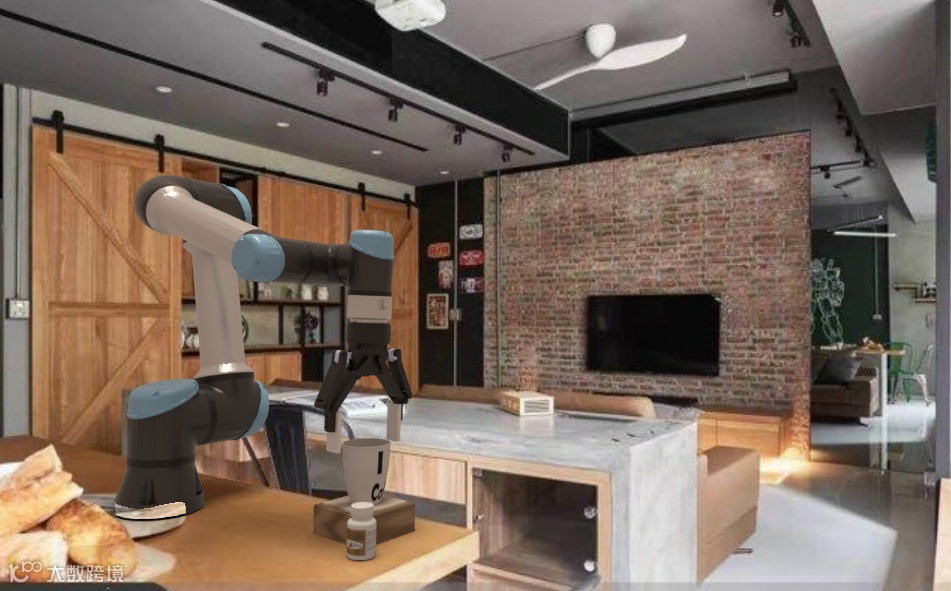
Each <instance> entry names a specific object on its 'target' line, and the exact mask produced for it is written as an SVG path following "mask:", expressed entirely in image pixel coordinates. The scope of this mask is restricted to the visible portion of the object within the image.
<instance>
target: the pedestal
mask: <svg viewBox="0 0 951 591" xmlns="http://www.w3.org/2000/svg"><path fill="white" fill-rule="evenodd" d="M351 505H352V504H351V502H350V499H349V496H348V495H346V496H342V497H341V496H340V497H337V498H334V499H331V500H326V501H322V502H320V503H316V504H313V526H312V527H313V530H312V533H313V534H316V535H319V536H323V537H325V538H329V539H331V540H333V539H334V540H333V541H337V542H339V541H340V542H339V543H342V542H343V544H345V543H347V522H348V520H349V519H350V518H352V516H351ZM372 517H373V518H375V520H376V543H378V544H380V543H379V542H381V543H383V542H382V541H384V540H387V539H389V540H391V539H390V538H392V539H394V538H393V537H395V538H397V537H396V536H398V537H400V536H399V535H401V536H403V535H406V534H409V533H411V532H414V531H415V530H416V503H415V502H411V501H407V500H404V499H400V498H397V497H393V496H389V495H386V494H383V495H382V498H381V501H380V503H378V504H375V505H374V512H373V515H372ZM405 533H406V534H405ZM402 534H403V535H402ZM387 541H388V540H387ZM384 542H385V541H384Z"/></svg>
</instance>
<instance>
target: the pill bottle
mask: <svg viewBox="0 0 951 591" xmlns="http://www.w3.org/2000/svg"><path fill="white" fill-rule="evenodd" d="M373 512H374V505H373V504H372V503H370V502H357V503H353V504H352V505H351V516H352V518H350V519H349V520H348V522H347V544H346V557H347V558H348V559H349V560H353V561H358V560H363V561H368V560H371V559H373V558H374V557H375V556H376V554H377V550H376V549H377V544H376V520H375V518H373V517H372V515H373Z"/></svg>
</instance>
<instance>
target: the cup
mask: <svg viewBox="0 0 951 591" xmlns="http://www.w3.org/2000/svg"><path fill="white" fill-rule="evenodd" d="M391 444H392V443H391V440H386V439H385V438H377V437H376V438H375V437H362V438H361V437H360V438H351V439H347V440H343V441H342V442H341V448H342V466H343V467H342V468H343V476H344V482H345V489H346V491H347V496H349V499H350V502H351V504H353V503H357V502H370V503H372V504H373V505H375V504H378V503H380V501H381V498H382V495H384V491H385V488H386V484H387V479H388V473H389V469H390V468H389V467H390V455H391V454H390V453H391Z"/></svg>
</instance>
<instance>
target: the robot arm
mask: <svg viewBox="0 0 951 591" xmlns="http://www.w3.org/2000/svg"><path fill="white" fill-rule="evenodd" d="M133 208H134V211H135V214H136V215H137V218H138V219H139V220H140V222H141V223H142V224H143V225H144V226H145V227H147V228H149V229H150V230H152V231H154V232H156V233H158V234H160V235H164V236H176V237H178V238H180V239H182V246H183V249H185V250H186V251H187V252H188V253H190V255H191V260H192V261H191V262H192V273H193V283H194V284H193V286H194V298H195V311H196V312H195V313H196V323H197V335H198V348H199V350H198V351H199V360H200V369H199V371H198V372H197V373H195V375H194V376H193V379H192V378H175V379H165V380H159V381H154V382H148V383H146V384H142V385H140V386H138V387H135V388H134V389H133V390H132V391H131V393H130V394H129V398H128V404H127V405H128V406H127V411H126V417H127V425H126V426H127V427H126V428H127V431H126V433H127V434H126V462H125V463H126V464H125V471H124V474H123V477H122V479H121V482H120V485H119V486H118V489H117V492H116V495H115V497H114V500H113V502H114V501H115V503H116V504H118V505H121V506H125V507H128V508H134V509H144V508H151V507H155V506H159V505H164V504H169V503H175V502H183V503H185V506H186V514H185V515H187V514H191V513H194V512H196V511H198V510H200V509H201V508H203V507H204V504H205V491H204V487H203V485H202V481H201V479H200V478H201V477H200V476H199V475H200V474H199V472H198V469H197V465H196V455H197V454H196V453H197V452H196V451H197V447H199V446H203V445H211V444H217V443H222V442H228V441H239V440H241V439H243V438H247V437H251V436H253V435H255V434H256V433H258V432H259V431H260V430H261V429H262V428H263V425H264V424H265V423H266V419H267V418H268V414H269V408H270V397H269V392H268V390H267V389H266V388H265V385H264V384H263V383H262V382H260V381H259V380H257V379H255V370H254V369H252V368H251V367H250V366H248V365H247V363H246V356H245V354H246V353H245V346H244V334H243V333H244V332H243V322H242V321H243V320H242V310H241V300H240V299H241V298H240V289H239V278H240V279H242V280H245V281H251V282H256V283H259V284H263V283H266V284H267V283H274V284H278V283H279V284H294V285H308V286H314V287H321V288H325V287H347V288H348V289H347V290H348V291H347V308H346V309H347V310H346V318H347V319H348V320H349V319H350V321H348V322H347V323H346V335H345V336H346V337H345V338H346V339H345V342H346V343H347V344H348V349H347V350H341V349H340V350H338V349H333V351H332V352H331V354H332V355H331V362H330V364H329V367H328V369H327V371H326V374H325V377H324V380H323V382H322V384H321V387H320V389H319V391H318V394H317V396H316V399H315V401H314V403H313V406H314V408H316V409H319V410H321V411H323V413H324V420H323V422H324V423H323V424H324V425H323V429H324V432H325V433H326V443H325V444H326V448H325V449H326V450H325V451H327V452H330V453H334V454H341V452H342V429H343V428H342V427H343V412H341V411H339V409H340V408H341V407H342V405H343V403H344V402H345V400H346V399H347V397H348V395H349V394H350V393H351V391H352V390H353V388H354V386H355V384H356V383H357V381H359V380H361V378H362V377H366V378H367V377H370V376H373V377H374V376H375V377H376V378H377V380H378V381H379V383H380V385H381V386H382V388H383V389H384V391H385V393H386V394H387V396H388V398H389V399H390V402H387V408H386V410H387V413H386V414H387V415H386V436H385V437H386V439H385V440H389V441H390V442H391V441H392V442H398V443H399V442H401V423H402V421H403V418H404V405H408V404H409V400H412V399H413V392H412V389H411V386H410V384H409V379H408V378H407V377H408V376H407V374H406V370H405V367H404V364H403V361H402V349H400V348H394V347H392V348H391V347H388V345H390V344H391V342H392V337H391V336H392V325H391V323H388V321H390V320H391V319H392V312H393V311H392V310H393V308H392V306H393V305H392V303H393V279H394V264H395V257H396V256H395V248H394V246H395V244H394V243H395V242H394V236H393V235H392V233H390V232H388V231H383V230H375V229H374V230H373V229H357V230H353V231H352V232H351V233H350V236H349V241H348V243H324V242H316V241H308V240H301V239H300V240H299V239H293V238H287V237H281V236H278V235H276V234H273V233H270V232H268V231H266V230H264V229H262V228H260V227H258V226H255V225H253V224H252V222H253V217H252V215H253V214H252V207H251V205H250V203H249V200H248V198H247V197H246V195H245V194H244V193H243V192H241V191H240V190H239V189H238V188H235V187H232V186H228V185H226V184H224V183H219V182H215V183H214V182H209V181H204V180H199V179H195V178H191V177H190V178H188V177H185V176H184V177H183V176H182V175H181V176H180V175H176V174H175V175H173V174H162V175H155V176H154V177H151V178H149V179H147V180H145V181H144V182H143V183H142V184H141V185H140V186H139V188H138V189H137V190H136V193H135V195H134V200H133Z"/></svg>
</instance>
